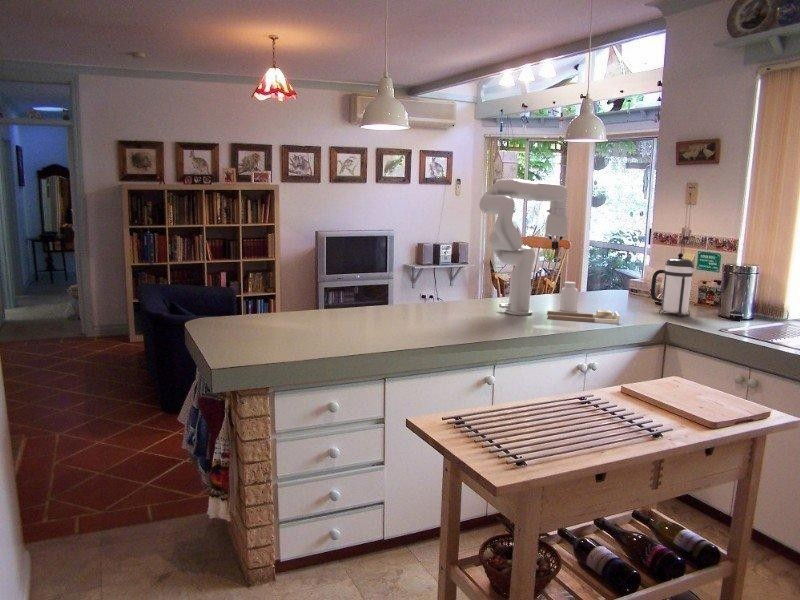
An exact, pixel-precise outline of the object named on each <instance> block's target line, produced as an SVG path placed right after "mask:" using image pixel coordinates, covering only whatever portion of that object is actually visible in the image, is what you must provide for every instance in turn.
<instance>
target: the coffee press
mask: <svg viewBox="0 0 800 600" xmlns="http://www.w3.org/2000/svg"><path fill="white" fill-rule="evenodd" d="M683 257H684V254H683V253H682V252H679V253H678V255H677V257H672V258H668V259H667V260H666V261H665V269H658V270H656V271H655V272H654V273H653V274H652V277H651V286H650V297H651V299H653V301H655V302H656V303H661V308H660V309H659V310H658V313H659V314H660V313H662V314H664V313H672V314H677V317H678V316H679V317H678V318H682V317H683V314H685V315H688V316H690V315H691V312H690V311H689V306H690V298H691V287H692V279H693V277H694V276H693V275H694V274H693V273H694V272H696V267H695V264H694V263H693V261H692V260H691V259H688V258H683ZM660 274H664V281H663V288H662V289H663V291H662V298H658V297H657V296H656V287H657V285H656V284H657V277H658V275H660ZM661 311H662V312H661ZM687 312H688V313H687Z"/></svg>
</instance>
